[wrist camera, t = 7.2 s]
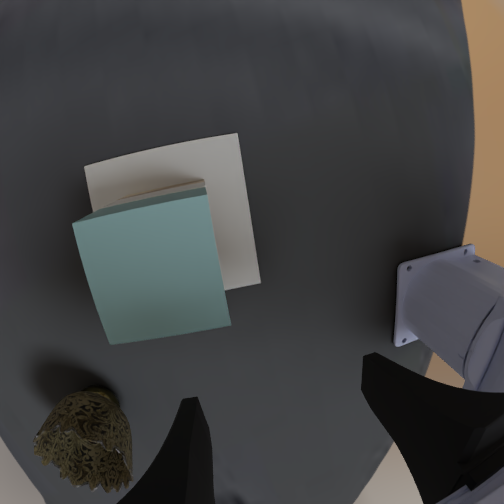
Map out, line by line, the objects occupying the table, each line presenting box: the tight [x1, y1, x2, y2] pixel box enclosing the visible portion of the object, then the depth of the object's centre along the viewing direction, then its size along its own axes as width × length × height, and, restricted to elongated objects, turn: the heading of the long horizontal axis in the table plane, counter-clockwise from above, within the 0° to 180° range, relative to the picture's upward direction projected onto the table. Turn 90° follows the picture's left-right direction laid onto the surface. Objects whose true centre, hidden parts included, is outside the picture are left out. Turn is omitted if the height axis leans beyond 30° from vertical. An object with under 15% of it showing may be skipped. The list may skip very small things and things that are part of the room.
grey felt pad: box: [84, 133, 261, 290], centre depth 20 cm, size 10×10×1 cm
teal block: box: [72, 187, 231, 345], centre depth 13 cm, size 5×5×4 cm
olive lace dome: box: [33, 385, 133, 493], centre depth 19 cm, size 8×7×8 cm
